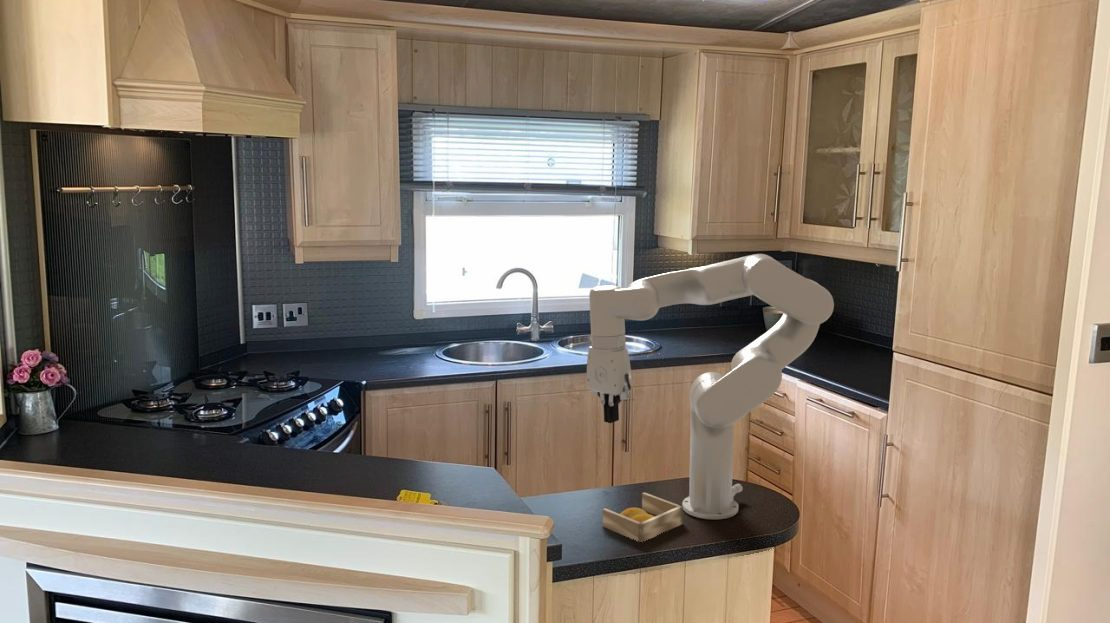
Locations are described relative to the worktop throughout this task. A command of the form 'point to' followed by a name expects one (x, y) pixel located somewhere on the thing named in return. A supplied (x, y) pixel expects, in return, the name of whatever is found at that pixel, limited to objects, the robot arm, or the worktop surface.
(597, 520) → the worktop surface
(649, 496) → the holder
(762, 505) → the worktop surface
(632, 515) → the bread roll
